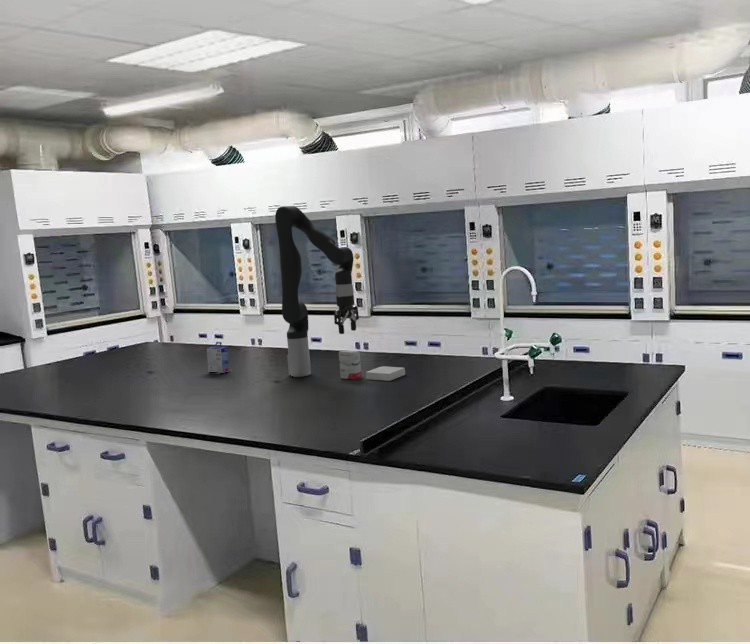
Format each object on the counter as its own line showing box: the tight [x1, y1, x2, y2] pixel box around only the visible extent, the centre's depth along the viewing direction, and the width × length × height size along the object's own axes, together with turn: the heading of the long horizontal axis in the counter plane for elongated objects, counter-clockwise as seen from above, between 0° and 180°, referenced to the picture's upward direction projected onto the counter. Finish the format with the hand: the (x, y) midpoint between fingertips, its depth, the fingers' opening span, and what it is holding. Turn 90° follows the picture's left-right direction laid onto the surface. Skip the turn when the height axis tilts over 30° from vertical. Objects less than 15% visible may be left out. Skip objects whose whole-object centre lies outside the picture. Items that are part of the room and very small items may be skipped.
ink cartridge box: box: [206, 341, 231, 372], centre depth 350 cm, size 10×6×14 cm, turn 58°
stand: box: [365, 365, 406, 382], centre depth 313 cm, size 12×12×3 cm
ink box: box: [338, 349, 363, 380], centre depth 316 cm, size 9×5×12 cm, turn 49°
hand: (347, 332), depth 314 cm, fingers open, 8 cm apart
